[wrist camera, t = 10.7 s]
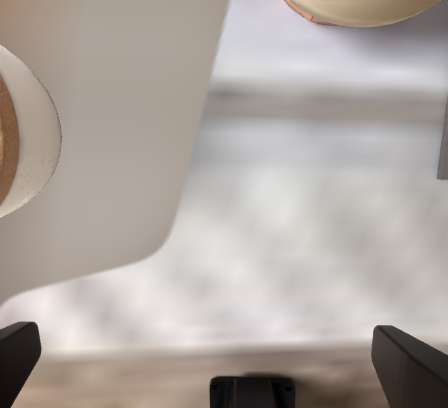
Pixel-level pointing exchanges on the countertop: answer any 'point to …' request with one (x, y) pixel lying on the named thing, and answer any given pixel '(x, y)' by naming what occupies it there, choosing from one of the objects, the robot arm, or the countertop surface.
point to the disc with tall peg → (363, 11)
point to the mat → (444, 151)
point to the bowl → (305, 15)
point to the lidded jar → (25, 134)
